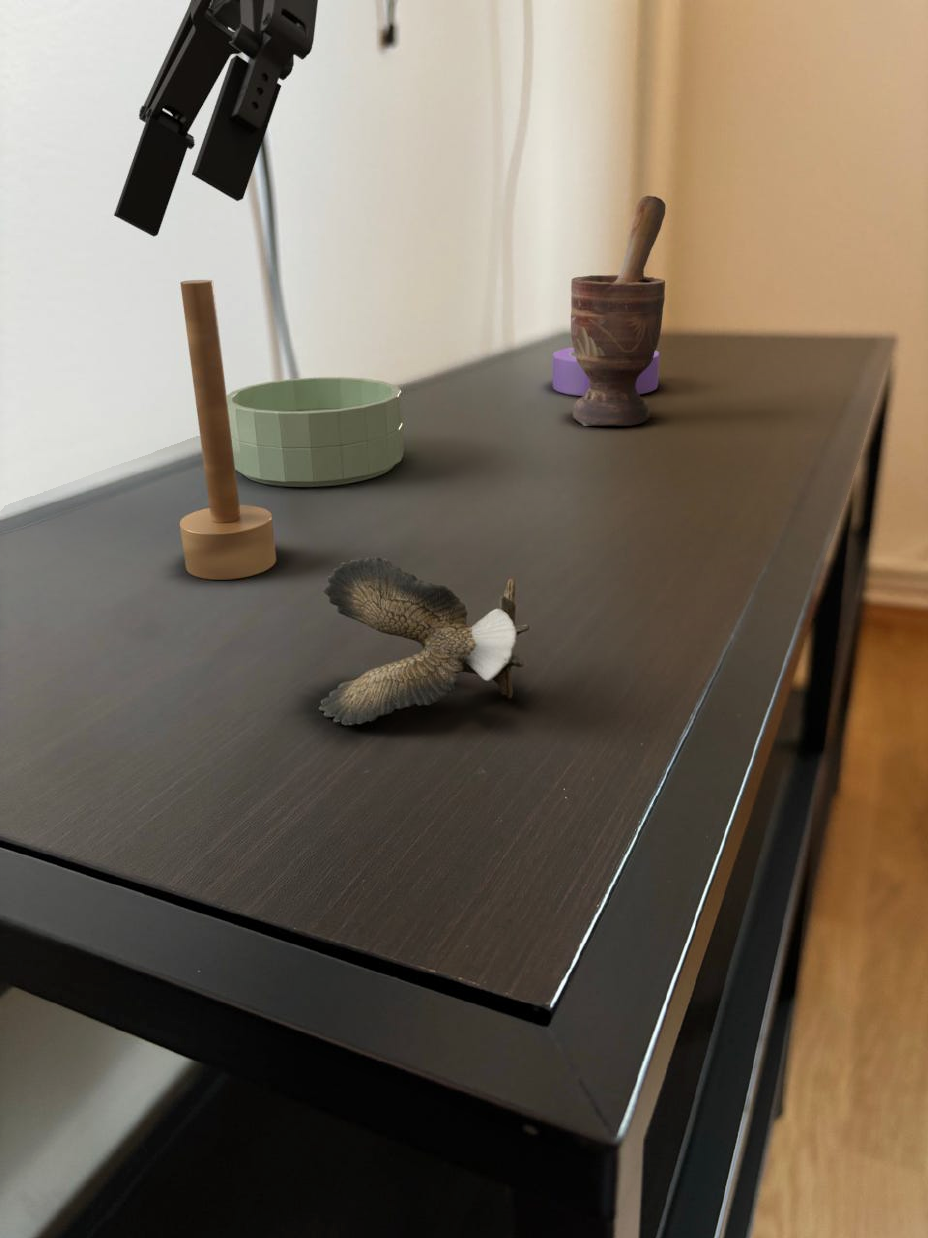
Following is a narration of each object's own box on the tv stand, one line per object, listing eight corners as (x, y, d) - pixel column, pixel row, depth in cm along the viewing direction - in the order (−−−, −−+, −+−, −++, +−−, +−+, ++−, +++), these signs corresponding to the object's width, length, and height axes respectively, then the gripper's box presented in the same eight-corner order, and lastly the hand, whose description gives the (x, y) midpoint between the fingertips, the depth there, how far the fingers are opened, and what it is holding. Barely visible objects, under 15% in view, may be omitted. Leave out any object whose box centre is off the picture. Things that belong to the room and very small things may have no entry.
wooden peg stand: (173, 579, 60) (129, 287, 53) (201, 548, 65) (164, 276, 58) (264, 580, 60) (231, 285, 53) (285, 548, 65) (258, 275, 58)
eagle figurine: (495, 624, 51) (319, 606, 49) (533, 539, 45) (335, 516, 43) (503, 760, 46) (310, 746, 45) (545, 687, 41) (326, 668, 39)
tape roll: (533, 391, 109) (533, 356, 108) (582, 374, 118) (583, 341, 116) (630, 402, 103) (632, 365, 102) (674, 383, 112) (676, 348, 110)
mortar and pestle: (578, 401, 104) (584, 195, 96) (661, 404, 102) (675, 194, 94) (561, 427, 94) (566, 199, 86) (653, 431, 92) (668, 197, 84)
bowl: (211, 489, 77) (201, 413, 75) (257, 443, 90) (250, 377, 88) (391, 489, 76) (387, 412, 74) (412, 443, 89) (409, 376, 87)
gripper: (457, -182, 51) (327, 205, 50) (256, -15, 71) (160, 264, 70) (336, -303, 46) (191, 121, 46) (157, -89, 66) (54, 209, 65)
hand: (172, 208), depth 58 cm, fingers open, 13 cm apart
